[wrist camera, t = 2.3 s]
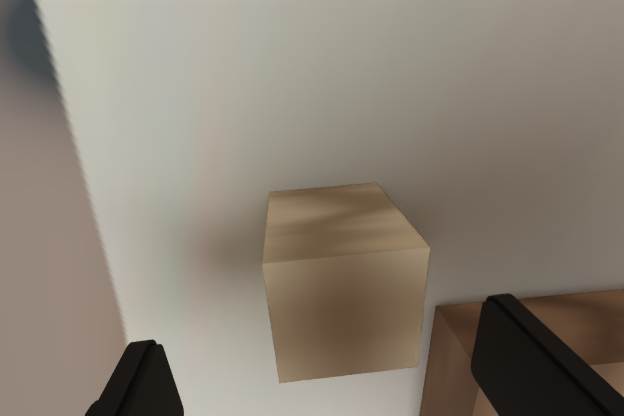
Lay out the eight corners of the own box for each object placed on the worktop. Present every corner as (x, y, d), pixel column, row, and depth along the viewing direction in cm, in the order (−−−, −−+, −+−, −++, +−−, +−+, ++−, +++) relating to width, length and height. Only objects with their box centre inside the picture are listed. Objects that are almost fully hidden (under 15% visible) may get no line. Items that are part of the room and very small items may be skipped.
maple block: (375, 182, 15) (430, 247, 9) (373, 270, 17) (417, 366, 11) (269, 191, 15) (261, 263, 9) (280, 280, 17) (279, 383, 11)
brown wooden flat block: (654, 282, 19) (768, 347, 15) (580, 435, 25) (645, 515, 21) (432, 301, 19) (481, 376, 14) (410, 455, 25) (439, 543, 20)
